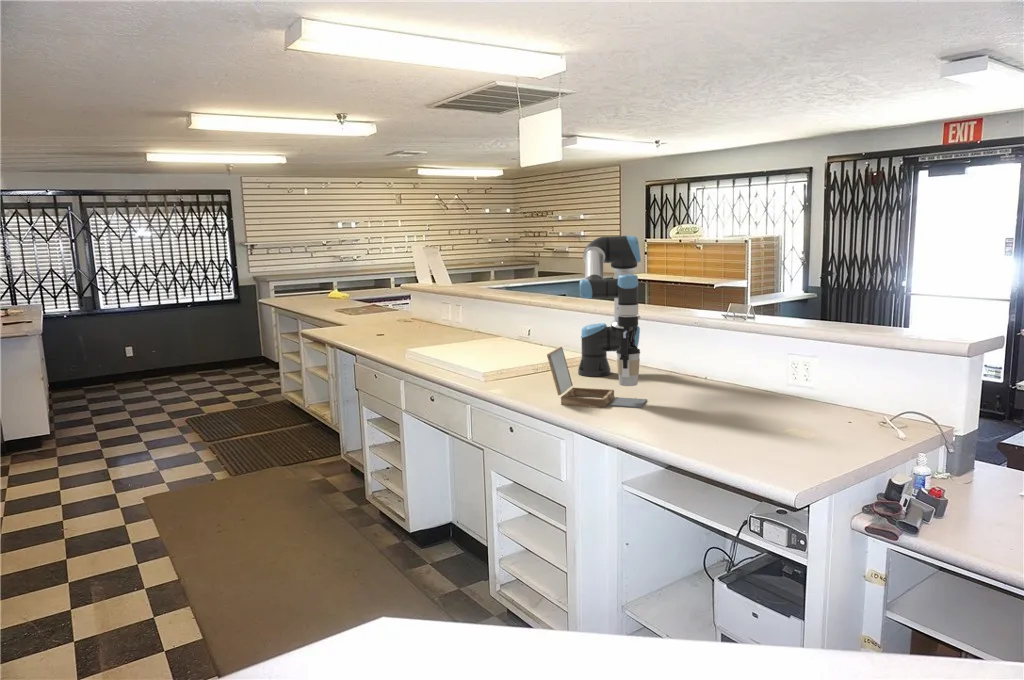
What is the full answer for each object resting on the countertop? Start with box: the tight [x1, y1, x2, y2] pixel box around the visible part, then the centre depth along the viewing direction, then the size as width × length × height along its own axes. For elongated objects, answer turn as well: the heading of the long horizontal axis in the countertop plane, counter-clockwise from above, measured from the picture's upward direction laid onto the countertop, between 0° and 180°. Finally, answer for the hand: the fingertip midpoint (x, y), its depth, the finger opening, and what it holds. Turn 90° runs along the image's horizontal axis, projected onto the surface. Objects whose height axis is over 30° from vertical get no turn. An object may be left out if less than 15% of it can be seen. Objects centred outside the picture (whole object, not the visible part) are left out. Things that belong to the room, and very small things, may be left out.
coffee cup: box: [615, 345, 641, 387], centre depth 253 cm, size 9×9×15 cm
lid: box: [546, 346, 573, 396], centre depth 263 cm, size 17×17×1 cm
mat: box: [609, 396, 648, 409], centre depth 255 cm, size 12×12×1 cm
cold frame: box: [560, 387, 615, 408], centre depth 261 cm, size 17×17×3 cm
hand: (628, 374), depth 253 cm, fingers closed on coffee cup, 9 cm apart
